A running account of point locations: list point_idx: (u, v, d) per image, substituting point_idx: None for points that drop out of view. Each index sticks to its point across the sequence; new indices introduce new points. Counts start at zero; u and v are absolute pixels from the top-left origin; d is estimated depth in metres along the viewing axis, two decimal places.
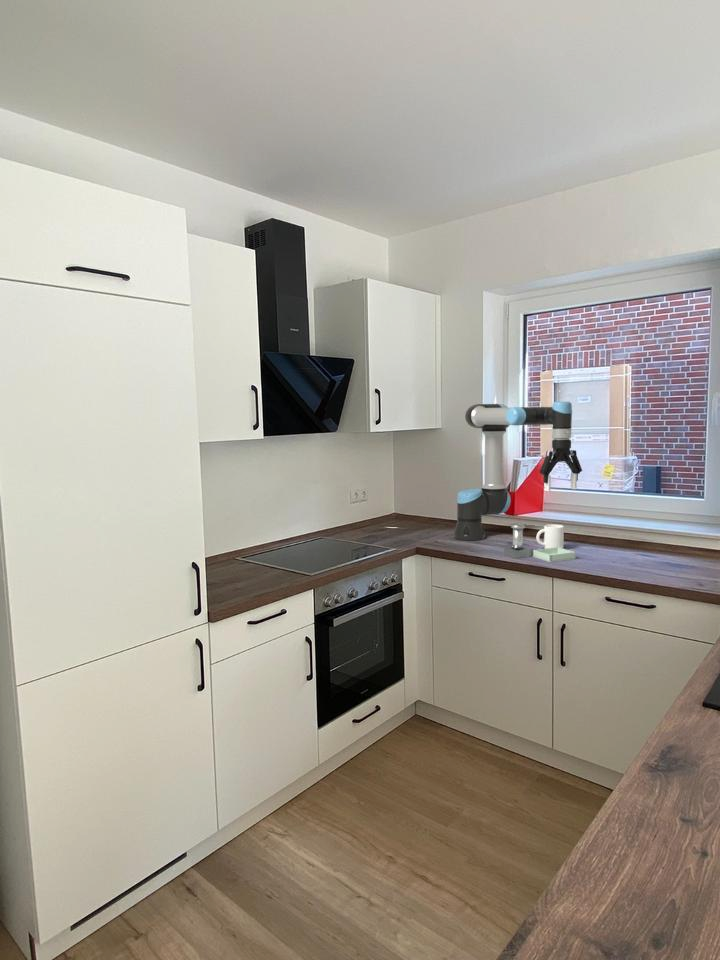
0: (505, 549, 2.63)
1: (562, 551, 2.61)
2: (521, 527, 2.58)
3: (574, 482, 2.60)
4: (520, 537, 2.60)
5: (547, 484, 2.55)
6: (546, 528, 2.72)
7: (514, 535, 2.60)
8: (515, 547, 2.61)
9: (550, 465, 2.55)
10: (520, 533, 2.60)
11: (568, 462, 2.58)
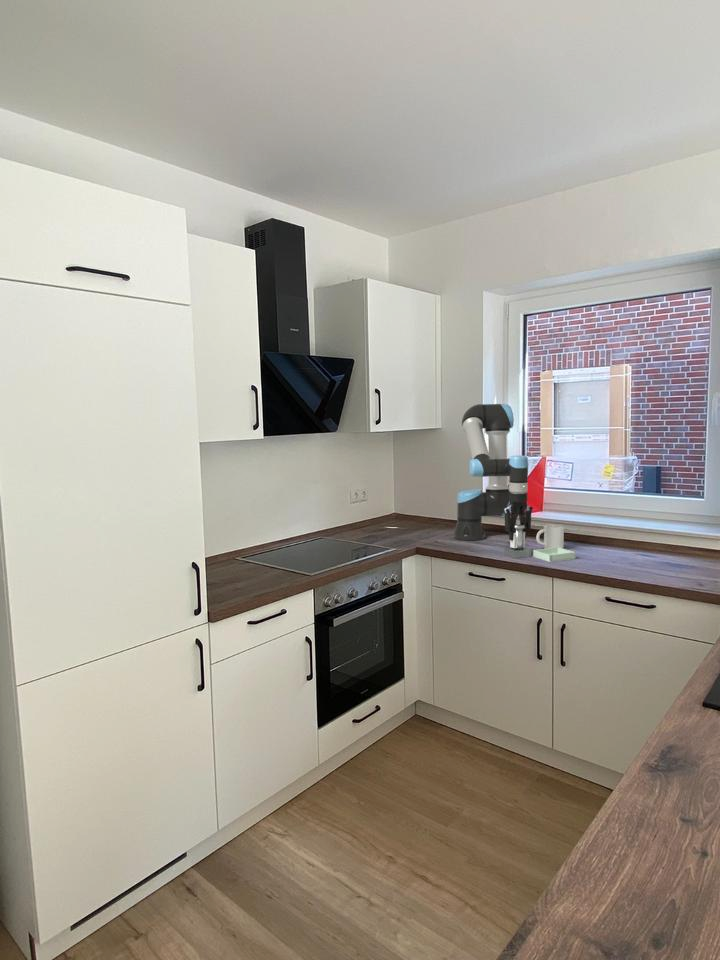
0: (505, 549, 2.63)
1: (562, 551, 2.61)
2: (521, 527, 2.58)
3: None
4: (520, 537, 2.60)
5: (512, 541, 2.60)
6: (546, 528, 2.72)
7: None
8: None
9: (512, 521, 2.59)
10: (520, 533, 2.60)
11: (521, 516, 2.61)
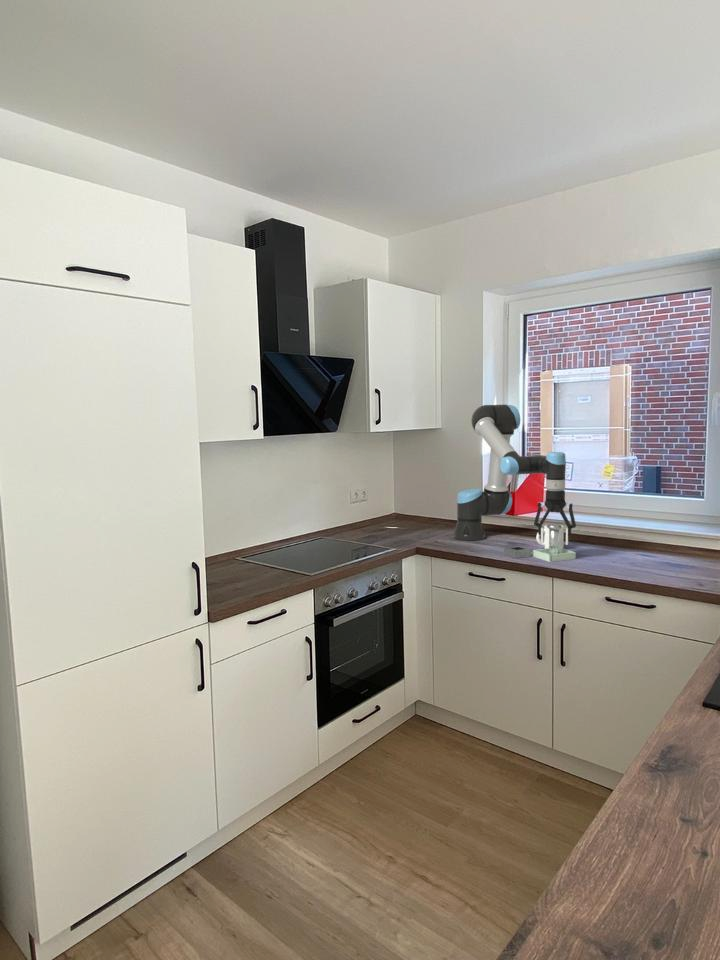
0: (505, 549, 2.63)
1: (562, 551, 2.61)
2: (553, 527, 2.53)
3: (566, 537, 2.54)
4: (553, 537, 2.55)
5: (541, 536, 2.58)
6: (546, 528, 2.72)
7: (549, 535, 2.57)
8: (549, 547, 2.57)
9: None
10: (553, 533, 2.54)
11: (561, 514, 2.54)
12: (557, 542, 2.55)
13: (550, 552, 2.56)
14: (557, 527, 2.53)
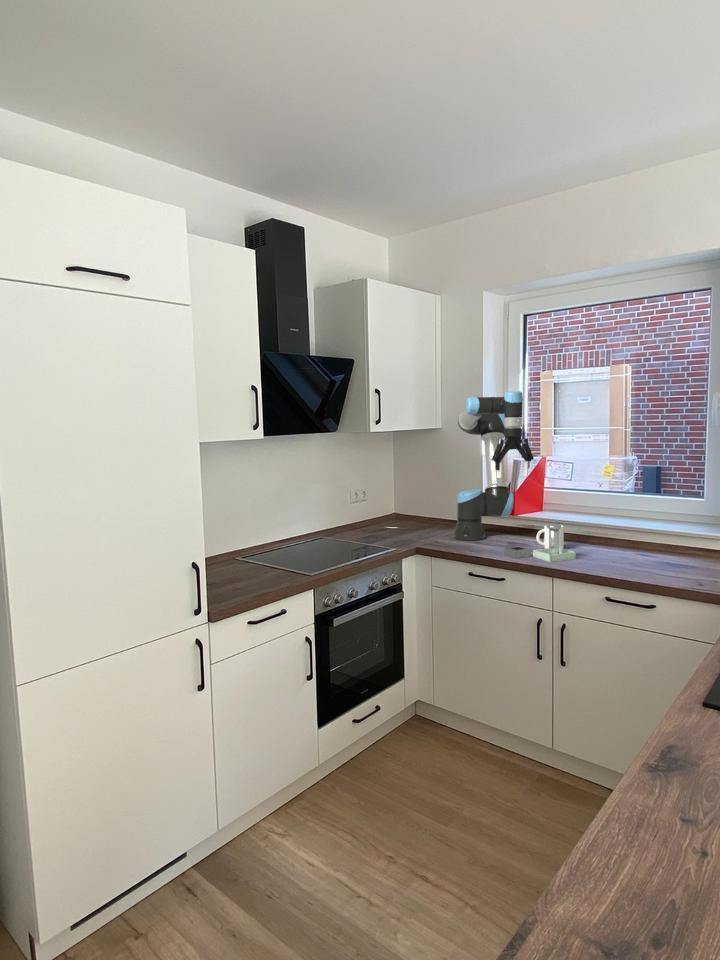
0: (505, 549, 2.63)
1: (562, 551, 2.61)
2: (553, 527, 2.53)
3: (526, 469, 2.68)
4: (553, 537, 2.55)
5: (499, 471, 2.63)
6: (546, 528, 2.72)
7: (549, 535, 2.57)
8: (549, 547, 2.57)
9: (502, 453, 2.63)
10: (553, 533, 2.54)
11: (520, 450, 2.66)
12: (557, 542, 2.55)
13: (550, 552, 2.56)
14: (557, 527, 2.53)
